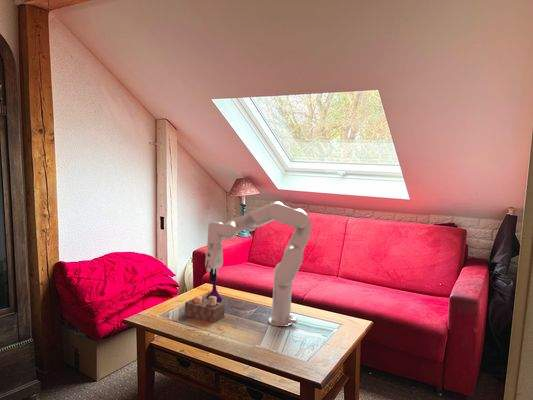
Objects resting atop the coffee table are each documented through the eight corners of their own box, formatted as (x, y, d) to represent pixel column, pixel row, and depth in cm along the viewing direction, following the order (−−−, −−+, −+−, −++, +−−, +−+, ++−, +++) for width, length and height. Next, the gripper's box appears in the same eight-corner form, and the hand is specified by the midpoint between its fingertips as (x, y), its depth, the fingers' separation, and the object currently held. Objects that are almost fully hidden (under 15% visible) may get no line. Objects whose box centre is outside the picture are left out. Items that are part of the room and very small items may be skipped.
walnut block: (224, 316, 211) (224, 303, 211) (213, 323, 202) (214, 309, 202) (196, 309, 219) (196, 297, 219) (184, 315, 210) (185, 302, 210)
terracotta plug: (202, 309, 214) (203, 297, 213) (198, 312, 210) (199, 299, 209) (196, 308, 215) (197, 295, 215) (192, 310, 212) (192, 297, 211)
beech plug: (217, 310, 209) (218, 297, 209) (213, 312, 206) (213, 299, 205) (210, 308, 211) (211, 295, 211) (206, 310, 208) (207, 297, 207)
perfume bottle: (205, 302, 231) (207, 271, 230) (218, 301, 235) (219, 270, 233) (209, 306, 225) (211, 275, 223) (222, 305, 228) (223, 274, 226)
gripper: (212, 249, 197) (210, 285, 199) (228, 244, 210) (226, 278, 212) (200, 247, 200) (198, 282, 202) (216, 242, 214) (214, 276, 215)
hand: (212, 280), depth 207 cm, fingers closed
